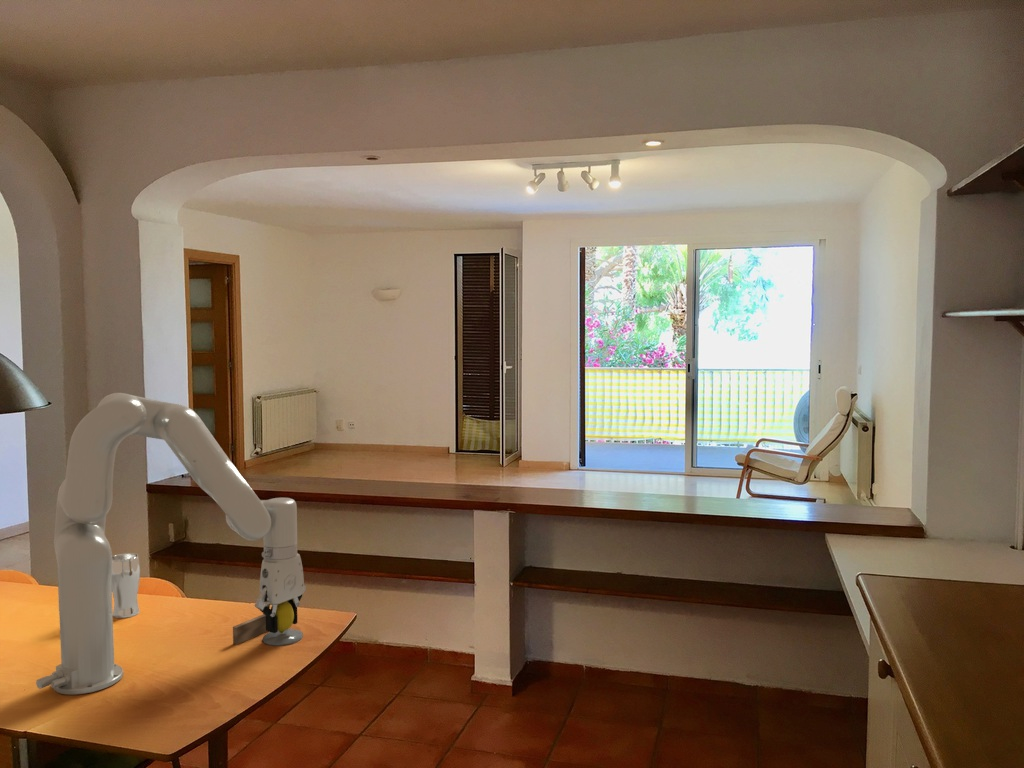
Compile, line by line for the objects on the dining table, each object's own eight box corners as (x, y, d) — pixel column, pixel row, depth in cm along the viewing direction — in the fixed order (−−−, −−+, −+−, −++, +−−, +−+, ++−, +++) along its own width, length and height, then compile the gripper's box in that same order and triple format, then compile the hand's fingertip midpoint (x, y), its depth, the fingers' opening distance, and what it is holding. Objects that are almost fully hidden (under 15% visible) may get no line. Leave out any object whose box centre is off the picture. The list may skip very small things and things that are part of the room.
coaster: (282, 648, 175) (282, 646, 175) (254, 641, 179) (254, 638, 179) (310, 635, 183) (310, 633, 183) (283, 628, 187) (283, 626, 187)
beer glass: (113, 611, 199) (111, 554, 198) (143, 608, 201) (141, 551, 200) (108, 620, 192) (106, 561, 192) (138, 617, 195) (137, 559, 194)
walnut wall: (236, 644, 177) (236, 627, 177) (233, 643, 178) (232, 626, 177) (288, 622, 191) (287, 606, 191) (284, 621, 192) (284, 605, 191)
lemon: (290, 637, 178) (289, 603, 177) (266, 637, 178) (265, 603, 178) (297, 628, 183) (296, 595, 183) (274, 628, 183) (273, 595, 183)
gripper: (263, 563, 170) (265, 643, 171) (318, 545, 185) (319, 618, 186) (240, 558, 174) (241, 636, 175) (295, 541, 189) (296, 613, 190)
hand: (281, 626), depth 181 cm, fingers closed on lemon, 5 cm apart
